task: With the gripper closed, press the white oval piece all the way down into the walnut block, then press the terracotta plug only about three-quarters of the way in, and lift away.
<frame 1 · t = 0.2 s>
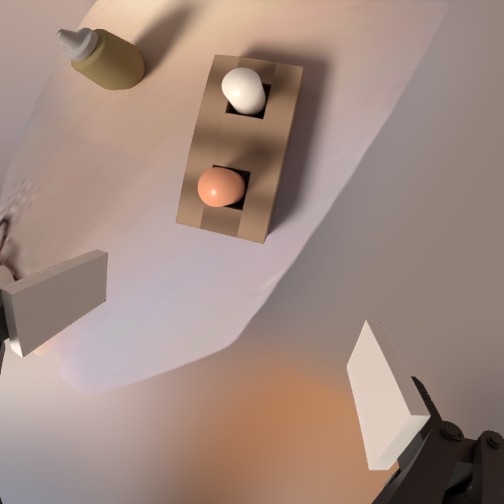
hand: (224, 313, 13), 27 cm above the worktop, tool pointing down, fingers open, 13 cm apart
terracotta plug: (223, 187, 31), point 8 cm above the worktop, slide at 0.0 cm
walnut plug block: (245, 148, 38), on the worktop
white oval piece: (245, 93, 29), point 8 cm above the worktop, slide at 0.0 cm
squeeze bottle: (130, 73, 37), on the worktop
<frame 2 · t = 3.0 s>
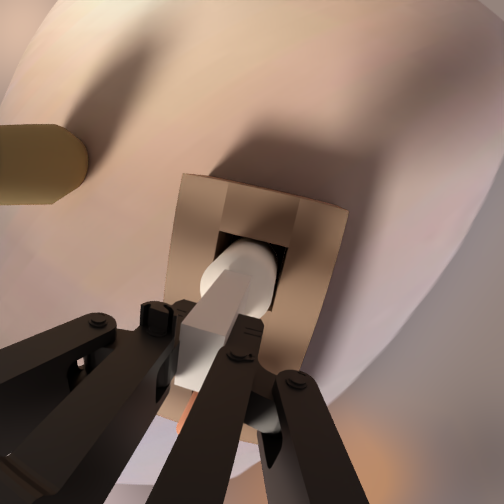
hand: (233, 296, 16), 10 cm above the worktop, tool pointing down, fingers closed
terracotta plug: (213, 409, 20), point 8 cm above the worktop, slide at 0.0 cm
walnut plug block: (243, 309, 26), on the worktop
white oval piece: (244, 275, 19), point 7 cm above the worktop, slide at 1.3 cm, touching gripper
squeeze bottle: (71, 164, 26), on the worktop
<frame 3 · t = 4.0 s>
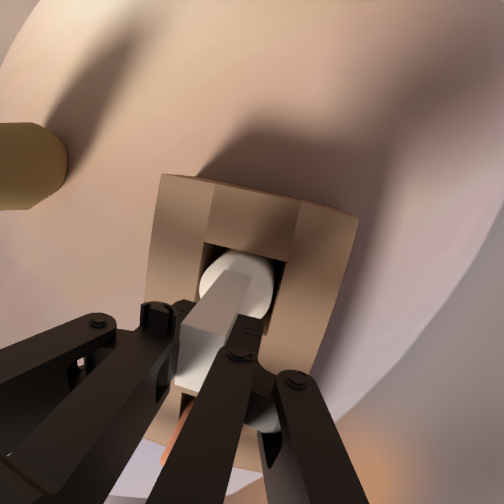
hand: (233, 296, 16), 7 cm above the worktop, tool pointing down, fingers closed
terracotta plug: (201, 439, 17), point 8 cm above the worktop, slide at 0.0 cm
walnut plug block: (236, 326, 23), on the worktop
white oval piece: (243, 277, 19), point 3 cm above the worktop, slide at 4.5 cm, touching gripper
squeeze bottle: (51, 166, 23), on the worktop
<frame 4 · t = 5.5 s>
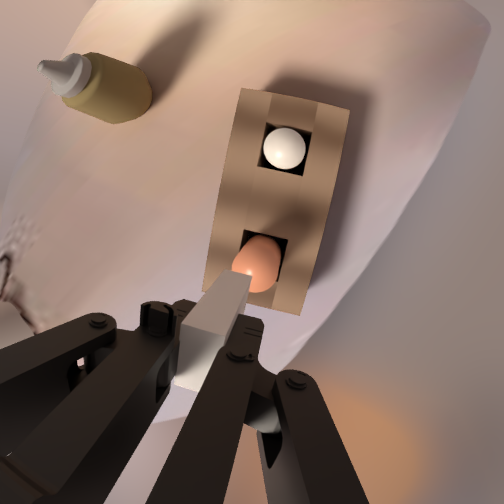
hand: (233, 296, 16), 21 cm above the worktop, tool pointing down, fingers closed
terracotta plug: (258, 261, 28), point 8 cm above the worktop, slide at 0.0 cm
walnut plug block: (276, 199, 34), on the worktop
white oval piece: (285, 151, 29), point 3 cm above the worktop, slide at 4.5 cm
squeeze bottle: (135, 100, 34), on the worktop
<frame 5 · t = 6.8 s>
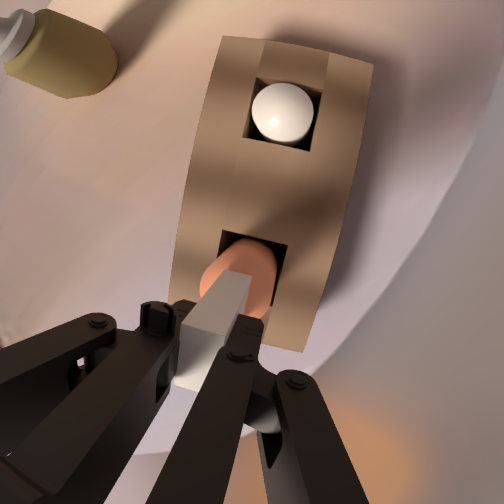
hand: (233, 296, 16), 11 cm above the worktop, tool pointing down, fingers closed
terracotta plug: (243, 276, 19), point 8 cm above the worktop, slide at 0.3 cm, touching gripper
walnut plug block: (271, 189, 25), on the worktop
white oval piece: (283, 120, 20), point 3 cm above the worktop, slide at 4.5 cm
squeeze bottle: (98, 72, 24), on the worktop
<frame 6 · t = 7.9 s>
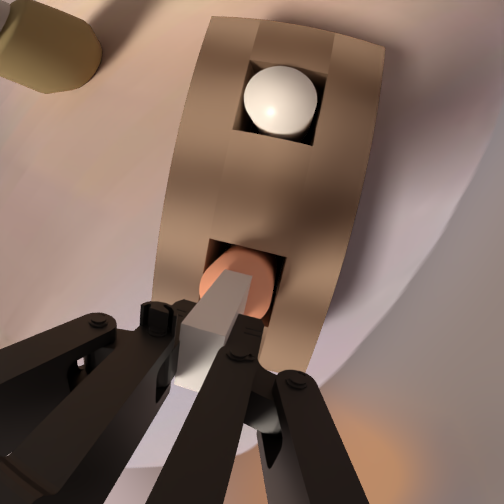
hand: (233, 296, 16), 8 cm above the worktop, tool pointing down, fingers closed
terracotta plug: (243, 277, 19), point 5 cm above the worktop, slide at 3.4 cm, touching gripper
walnut plug block: (268, 191, 22), on the worktop
white oval piece: (282, 110, 17), point 3 cm above the worktop, slide at 4.5 cm
squeeze bottle: (82, 65, 21), on the worktop
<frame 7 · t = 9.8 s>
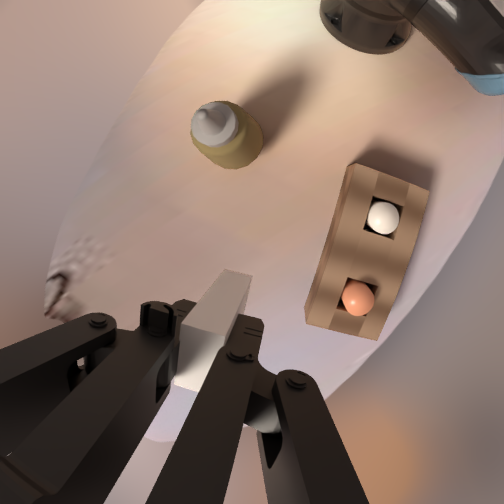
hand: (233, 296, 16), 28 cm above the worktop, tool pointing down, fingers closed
terracotta plug: (355, 293, 38), point 5 cm above the worktop, slide at 3.4 cm
walnut plug block: (360, 249, 41), on the worktop
white oval piece: (378, 216, 37), point 3 cm above the worktop, slide at 4.5 cm
squeeze bottle: (238, 144, 41), on the worktop
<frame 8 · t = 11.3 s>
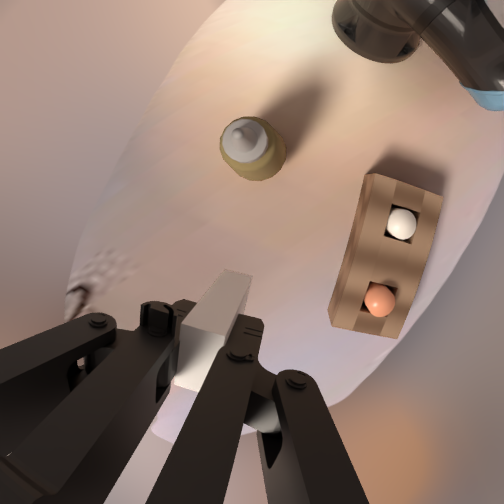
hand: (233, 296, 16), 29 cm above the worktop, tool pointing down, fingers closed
terracotta plug: (376, 296, 40), point 5 cm above the worktop, slide at 3.4 cm
walnut plug block: (379, 253, 43), on the worktop
white oval piece: (396, 222, 38), point 3 cm above the worktop, slide at 4.5 cm
squeeze bottle: (259, 155, 42), on the worktop
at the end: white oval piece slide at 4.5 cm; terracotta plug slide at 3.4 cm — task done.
